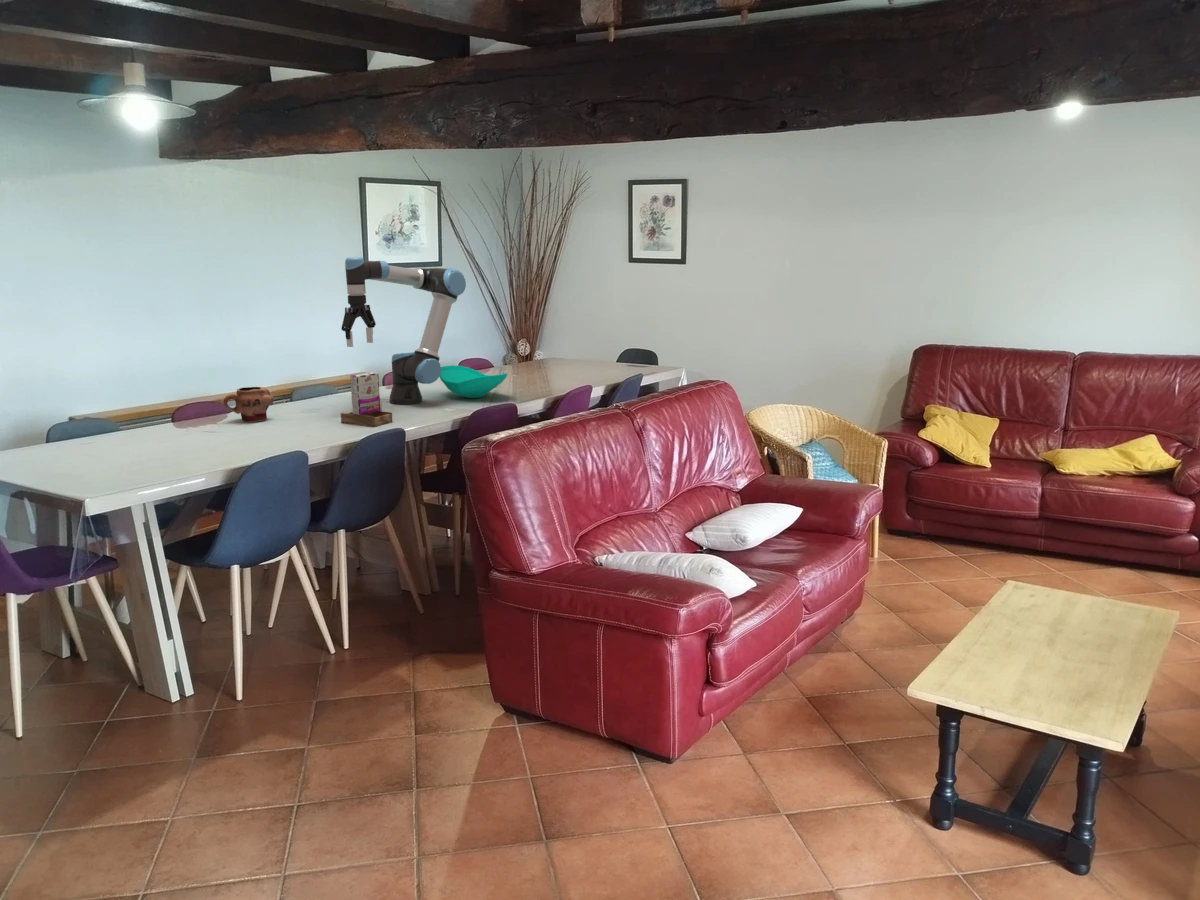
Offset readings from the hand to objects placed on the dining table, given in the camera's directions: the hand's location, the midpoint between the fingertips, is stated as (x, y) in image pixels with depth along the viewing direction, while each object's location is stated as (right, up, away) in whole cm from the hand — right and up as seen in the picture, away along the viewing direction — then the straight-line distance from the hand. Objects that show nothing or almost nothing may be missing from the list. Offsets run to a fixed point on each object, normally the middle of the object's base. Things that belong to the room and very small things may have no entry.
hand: (360, 344), depth 393 cm
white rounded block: (+6, -31, +2) cm, 31 cm away
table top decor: (+41, -20, +53) cm, 70 cm away
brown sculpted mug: (-44, -33, -9) cm, 55 cm away
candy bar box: (+5, -30, -10) cm, 32 cm away
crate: (+5, -34, -9) cm, 35 cm away
